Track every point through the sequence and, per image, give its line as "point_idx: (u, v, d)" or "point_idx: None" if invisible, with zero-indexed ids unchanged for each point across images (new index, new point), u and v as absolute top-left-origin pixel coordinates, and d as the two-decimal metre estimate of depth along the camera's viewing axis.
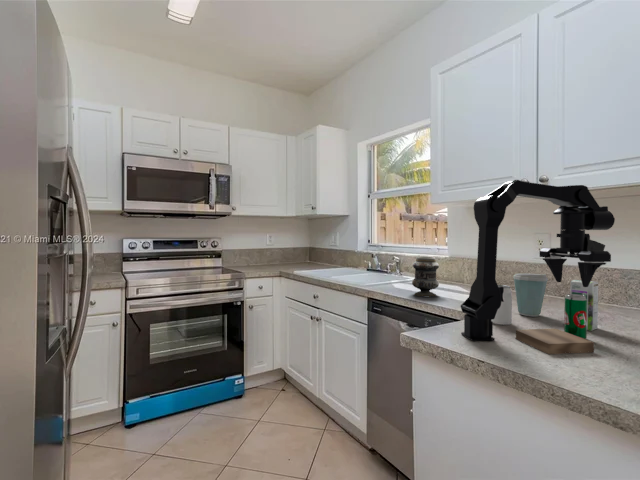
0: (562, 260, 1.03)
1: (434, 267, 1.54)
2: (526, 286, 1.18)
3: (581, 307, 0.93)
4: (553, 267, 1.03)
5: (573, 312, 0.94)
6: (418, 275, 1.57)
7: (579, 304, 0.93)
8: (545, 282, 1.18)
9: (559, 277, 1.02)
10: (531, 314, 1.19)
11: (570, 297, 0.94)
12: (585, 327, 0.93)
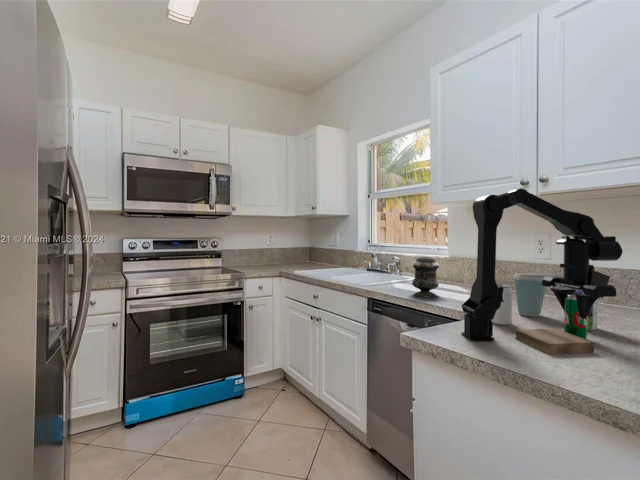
0: (571, 291, 0.98)
1: (434, 267, 1.54)
2: (526, 286, 1.18)
3: None
4: (561, 298, 0.98)
5: (573, 312, 0.94)
6: (418, 275, 1.57)
7: None
8: None
9: None
10: (531, 314, 1.19)
11: (570, 297, 0.94)
12: (585, 327, 0.93)
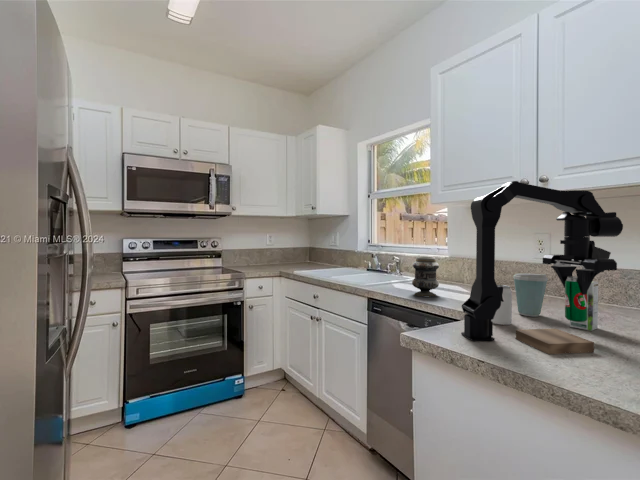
0: (572, 268, 0.98)
1: (434, 267, 1.54)
2: (526, 286, 1.18)
3: None
4: (562, 275, 0.98)
5: (573, 294, 0.93)
6: (418, 275, 1.57)
7: None
8: (545, 282, 1.18)
9: None
10: (531, 314, 1.19)
11: (570, 279, 0.94)
12: (586, 309, 0.93)
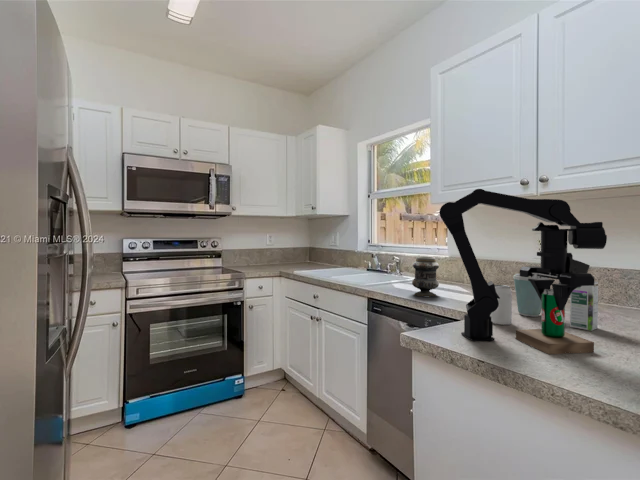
0: (549, 281, 0.92)
1: (434, 267, 1.54)
2: (526, 286, 1.18)
3: None
4: (539, 289, 0.92)
5: (550, 308, 0.87)
6: (418, 275, 1.57)
7: None
8: None
9: None
10: (531, 314, 1.19)
11: (547, 292, 0.88)
12: (563, 324, 0.87)
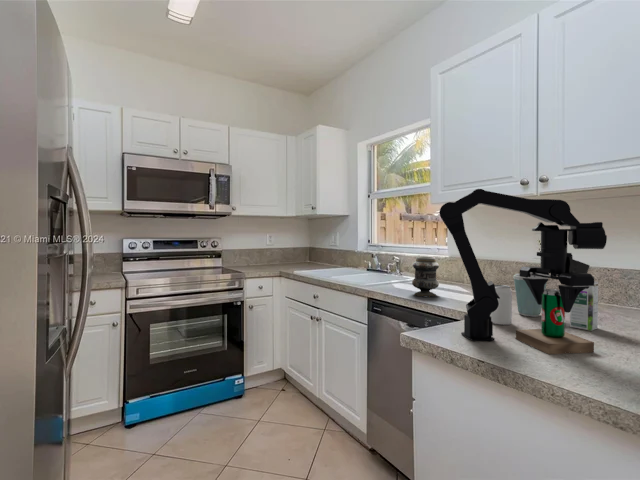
0: (543, 280, 0.94)
1: (434, 267, 1.54)
2: (526, 286, 1.18)
3: (558, 303, 0.86)
4: (534, 288, 0.94)
5: (550, 308, 0.87)
6: (418, 275, 1.57)
7: (557, 300, 0.86)
8: None
9: (540, 299, 0.93)
10: (531, 314, 1.19)
11: (547, 292, 0.88)
12: (563, 324, 0.87)
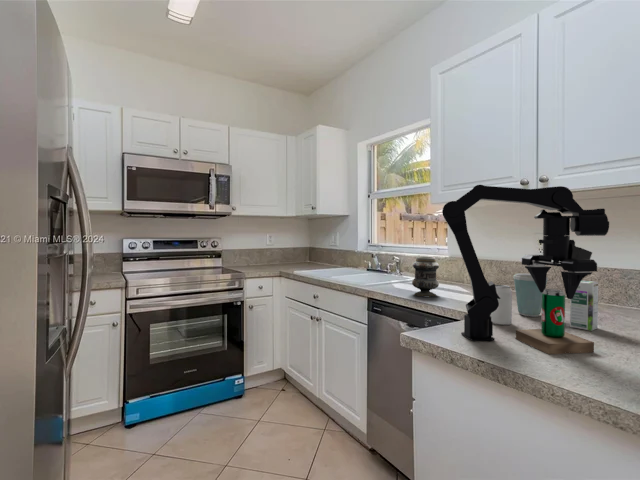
0: (546, 268, 0.94)
1: (434, 267, 1.54)
2: (526, 286, 1.18)
3: (558, 303, 0.86)
4: (536, 276, 0.94)
5: (550, 308, 0.87)
6: (418, 275, 1.57)
7: (557, 300, 0.86)
8: None
9: (542, 287, 0.93)
10: (531, 314, 1.19)
11: (547, 292, 0.88)
12: (563, 324, 0.87)
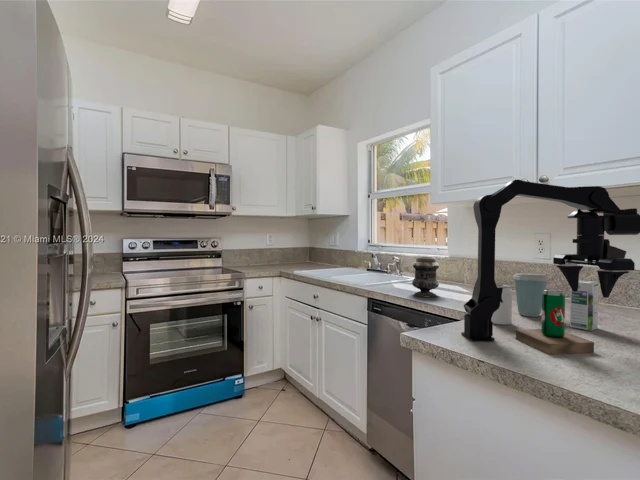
0: (578, 267, 0.95)
1: (434, 267, 1.54)
2: (526, 286, 1.18)
3: (558, 303, 0.86)
4: (569, 275, 0.94)
5: (550, 308, 0.87)
6: (418, 275, 1.57)
7: (557, 300, 0.86)
8: (545, 282, 1.18)
9: (575, 286, 0.94)
10: (531, 314, 1.19)
11: (547, 292, 0.88)
12: (563, 324, 0.87)
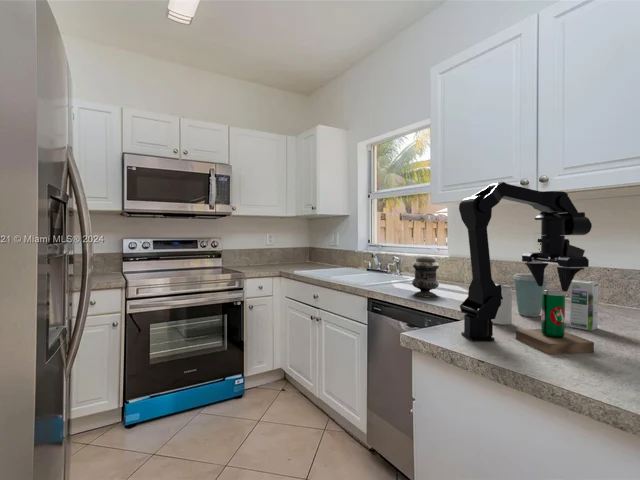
0: (544, 265, 1.05)
1: (434, 267, 1.54)
2: (526, 286, 1.18)
3: (558, 303, 0.86)
4: (535, 271, 1.04)
5: (550, 308, 0.87)
6: (418, 275, 1.57)
7: (557, 300, 0.86)
8: (545, 282, 1.18)
9: (541, 281, 1.04)
10: (531, 314, 1.19)
11: (547, 292, 0.88)
12: (563, 324, 0.87)
